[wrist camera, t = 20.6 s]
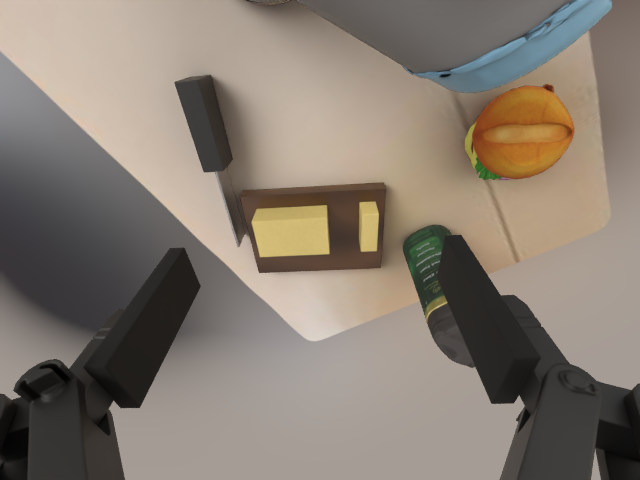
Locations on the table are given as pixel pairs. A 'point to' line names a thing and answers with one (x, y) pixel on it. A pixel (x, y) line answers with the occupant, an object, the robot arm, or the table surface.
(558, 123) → the cheeseburger
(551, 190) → the table surface
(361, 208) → the butter pat
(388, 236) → the table surface
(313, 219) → the butter block
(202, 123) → the knife
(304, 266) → the board
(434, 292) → the coffee jar
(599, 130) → the table surface
